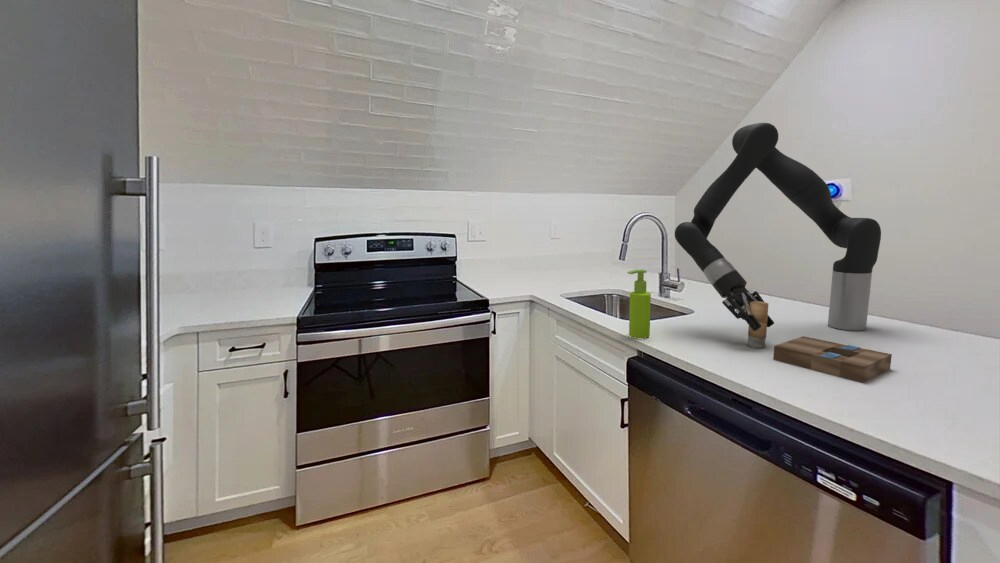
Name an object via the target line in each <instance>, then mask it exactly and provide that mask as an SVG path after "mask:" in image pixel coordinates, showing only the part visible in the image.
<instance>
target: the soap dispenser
mask: <svg viewBox="0 0 1000 563" xmlns="http://www.w3.org/2000/svg"><path fill="white" fill-rule="evenodd" d="M647 272H648V271H647V270H644V269H633V270H629V271H627V274H629V275H634V274H637V279H636V280H634V285H633V287H634V290H633V291H631V292H629V310H628V311H629V316H628V317H629V320H628V321H629V322H628V323H629V324H628V336H629V335H630V336H631V337H630V336H629V337H630V338H632V337H636V338H635V339H637V338H645V337H649V336H650V335H651V334H650V333H651V332H650V331H651V330H650V329H651V300H652V299H651V296H652V295H651V292H648V291H647V280H644V276H645V275H644V274H646V273H647ZM649 338H650V337H649Z"/></svg>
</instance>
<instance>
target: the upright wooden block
mask: <svg viewBox="0 0 1000 563" xmlns="http://www.w3.org/2000/svg"><path fill="white" fill-rule="evenodd" d="M750 312H751V315H753V316H754V317H755V319H756V320H757V321H758V322H759V323H760V325H761V328H759V329H758V330H756V331H754V330H753V329H752V328H751V327H750V326H749V325H748V330H747V335H748V338H747V346H748V348H752V349H765V348H766V338H767V331H768V327H767V318H768V315H769V302H766V301H764V302H760V301H752V302H750Z"/></svg>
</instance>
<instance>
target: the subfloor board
mask: <svg viewBox="0 0 1000 563" xmlns="http://www.w3.org/2000/svg"><path fill="white" fill-rule="evenodd" d="M772 359H773V360H775V361H779V362H782V363H787V364H791V365H794V366H796V367H797V366H798V367H801V368H806V369H809V370H813V371H817V372H820V373H825V374H828V375H832V376H837V377H839V378H844V379H847V380H850V381H855V382H859V383H863V384H864V383H865V382H867V381H869V380H871V379H873V378H875V377H877V376H879V375H881V374H883V373H885V372H887V371H890V370H891V363H892V353H886V352H882V351H878V350H872V349H868V348H864V347H863V348H862V347H861V346H857V345H851V344H842V343H838V342H833V341H829V340H824V339H818V338H813V337H809V336H805V335H803V336H799V337H796V338H794V339H791V340H788V341H784V342H781V343H779V344H775V345H774V346H773V357H772Z"/></svg>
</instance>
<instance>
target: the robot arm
mask: <svg viewBox="0 0 1000 563" xmlns="http://www.w3.org/2000/svg"><path fill="white" fill-rule="evenodd" d="M778 141H779V131H778V129H777V128H776V126H775V125H774V124H773V123H772V124H771V123H769V122H758V123H752V124H747V125H745V126H742V127H740V128H739V129H737V131H735V133H734V134H733V136H732V140H731V142H732V143H731V144H732V149H733V150H734V152H735V153H736V156H735V158H734V159H733V160H732V162H731V163H730V164H729V165H728V167H727V168H726V169H725V170H724V171H723V172H722V173H721V174H720V175H719V176H718V177H717V178H716V179H715V180H714V182H712V183H711V184H710V186H709V187H707V188H706V190H705V192H703V194H702V196H701V197H700V199H699V200H698V202H697V203H696V205H695V206H694V209H693V217H692V219H691V221H685V222H681V223H680V224H678V225H677V226H676V228H675V229H674V239H675V240H676V242H677V244H678V245H679V246H680V247H681V248H682V249H683V250H684V251H685V252H686V253H687V254H688V255H689V256H690V257H691V258H692V259H693V261H694V262H695V263H696V265H697V267H698V268H699V269H700V270H701V271H702V273H703V274H704V276H705V277H706V279H707V281H708V282H709V284H711V286H712V287H713V289H714V290H715V291H716V293H717V294H719V297H721V298H722V299H724V300H723V301H722V302H721V303H722V305H723V306H725V307H726V309H727V310H728V311H729V312H730V313H731V314H732V315H733V316H734V317H735V318H736V319H738V320H739V319H741V320H743V321H745V322H746V323H747V324H748V327H749V326H750V327H751V328H752V329H753V330H754V331H756V330H758V329H759V328H761V325H760V323H759V322H758V321H757V320H756V319H755V317H754V316H753V315H751V312H750V302H752V301H760V302H765V300H764V299H763V298H762V296H761V294H759V292H758V291H756V290H755V291H753V292H750V291H749V290H748V289H747V288H746V286H747V282H748V281H747V280H746V279H745V278H744V277H743V276H742V274H740V272H739V271H738V270H737V268H735V267H734V266H733V264H732V263H731V262H730V261H729V260H727V258H725V256H724V255H723V254H722V253H721V251H719V249H718V248H717V247H716V246H715V245H713V244H712V243H711V242H710V241H709V240H708V237H709V235H710V233H711V231H712V228H713V226H714V225H715V222H716V220H717V218H719V216H720V214H721V213H722V212H723V210H724V209H725V208H726V206H727V204H728V203H729V201H730V200H731V199H732V197H734V194H735V193H736V192H737V191H738V189H739V188H740V187H741V185H743V183H744V182H745V181H746V179H748V178H749V176H750V175H751V174H752V173H753V172H754V170H755V169H757V170H758V171H759V172H761V173H762V174H763V176H765V177H766V178H767V179H768V180H769V181H770V183H771V184H772V185H774V186H775V187H776V188H777V190H779V191H780V192H781V193H782V195H784V196H785V197H786V198H787V199H788V200H789V201H790V202H791V203H792V204H794V205H795V206H796V207H798V208H799V210H800V211H802V212H803V213H804V215H806V216H807V217H809V219H811V220H812V221H813V223H815V224H816V226H817V227H819V229H820V230H821V231H822V233H823V234H824V235H825V237H827V239H828V240H830V242H831V243H832V244H834V245H835V246H837V247H839V248H843V249H846V252H845V255H844V257H842V258H841V259H838V260H836V261H834V262H833V264H832V274H831V284H830V286H831V287H830V295H829V296H830V298H829V307H828V308H829V309H828V315H827V316H828V318H827V326H829V327H831V328H834V329H839V330H844V331H859V332H860V331H865V330H867V325H868V324H867V323H868V314H869V306H870V304H869V303H870V295H871V285H872V275H873V268H874V266H875V265H876V263H877V260H878V257H879V250H880V244H881V239H882V230H881V226H880V223H879V222H878V221H877V220H875V219H873V218H870V217H850V216H848V215H846V214H845V213H844V212H843V211H841V209H839V208H838V207H837V206H836V205H835V204H834V202H833V200H832V193H831V190H830V188H829V185H828V184H827V182H825V180H824V179H823V178H821V177H820V176H819V174H817V173H816V172H815V171H814V170H813V169H812V168H809V167H808V166H807V165H806V164H803V163H802V162H799V161H798V160H795V159H794V158H791V157H789V156H787V155H786V154H784V153H782V152H781V151H780V150H779V149H778V148H777V147H776V146H777V144H778ZM774 324H775V321H774V320H773V318H771V317H770V315H769V314H768V318H767V328H770V327H771V326H774Z"/></svg>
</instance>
